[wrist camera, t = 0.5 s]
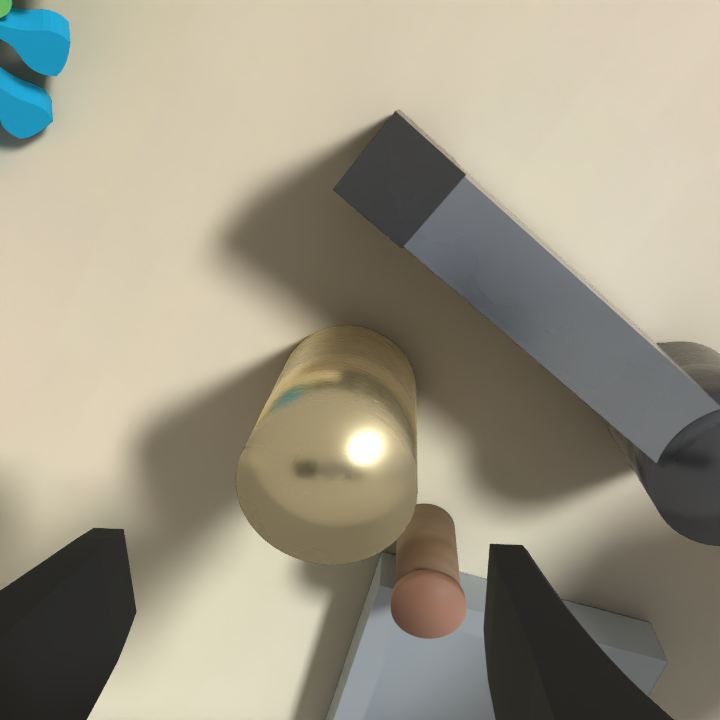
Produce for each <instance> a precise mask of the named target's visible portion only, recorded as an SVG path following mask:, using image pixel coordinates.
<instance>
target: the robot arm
mask: <svg viewBox="0 0 720 720" xmlns="http://www.w3.org/2000/svg"><path fill="white" fill-rule="evenodd" d="M135 615H136V606H135V600H134V593H133V587H132V580H131V574H130V568H129V561H128V555H127V548H126V542H125V535H124V529H105V528H93V529H92V530H90V531H88V532H87V533H85V534H83V535H82V536H80V537H79V538H77V539H76V540H74V541H73V542H71V543H70V544H68V545H67V546H65V547H64V548H62V549H61V550H59V551H58V552H56V553H55V554H54V555H52V556H51V557H49V558H48V559H46V560H45V561H43V562H42V563H41V564H39V565H38V566H36V567H35V568H33V569H32V570H30V571H29V572H27V573H26V574H24V575H23V576H21V577H20V578H18V579H17V580H15V581H14V582H12V583H11V584H10V585H8V586H7V587H5V588H4V589H2V590H0V720H87V718H88V716H89V714H90V712H91V711H92V709H93V707H94V705H95V703H96V701H97V700H98V698H99V696H100V694H101V692H102V690H103V688H104V686H105V684H106V683H107V681H108V679H109V677H110V675H111V673H112V671H113V669H114V667H115V665H116V663H117V661H118V659H119V657H120V654H121V652H122V649H123V647H124V644H125V642H126V639H127V637H128V634H129V631H130V628H131V626H132V623H133V620H134V617H135ZM483 631H484V643H485V655H486V666H487V677H488V684H489V689H490V694H491V699H492V704H493V709H494V714H495V719H496V720H674V719H672V718H671V717H670V716H669V715H668V714H667V713H666V712H664V711H663V710H662V709H661V708H660V707H659V706H658V705H656V704H655V703H654V702H653V701H652V700H651V699H650V698H649V697H648V696H647V695H646V694H645V693H644V692H643V691H642V690H641V689H639V688H638V687H637V686H636V685H635V684H634V683H633V682H632V681H631V680H630V679H629V678H628V677H627V676H626V675H625V674H624V673H623V672H622V671H621V669H620V668H619V667H618V666H617V665H616V664H615V663H614V662H613V661H612V660H611V659H610V658H609V656H608V655H607V654H606V653H605V652H604V651H603V650H602V649H601V648H600V646H599V645H598V644H597V643H596V642H595V641H594V640H593V638H592V637H591V636H590V635H589V634H588V632H587V631H586V630H585V629H584V628H583V626H582V625H581V624H580V623H579V621H578V620H577V619H576V618H575V616H574V615H573V614H572V613H571V611H570V610H569V609H568V608H567V606H566V605H565V604H564V602H563V601H562V600H561V598H560V597H559V596H558V594H557V593H556V592H555V590H554V589H553V588H552V586H551V585H550V583H549V582H548V581H547V579H546V578H545V576H544V575H543V573H542V572H541V570H540V569H539V568H538V566H537V565H536V563H535V562H534V560H533V558H532V557H531V555H530V554H529V552H528V551H527V550H526V549H525V548H524V546H523V545H505V544H490V549H489V562H488V575H487V588H486V601H485V614H484V627H483Z"/></svg>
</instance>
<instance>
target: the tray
mask: <svg viewBox="0 0 720 720" xmlns="http://www.w3.org/2000/svg"><path fill="white" fill-rule="evenodd" d="M395 567H396V555H393V554H389V553H385V552H382V553H381V556H380V559H379V562H378V565H377V568H376V571H375V574H374V577H373V580H372V583H371V586H370V589H369V592H368V594H367V597H366V600H365V603H364V606H363V609H362V612H361V615H360V618H359V621H358V624H357V627H356V630H355V633H354V636H353V639H352V642H351V645H350V648H349V651H348V654H347V657H346V660H345V663H344V666H343V669H342V672H341V675H340V678H339V681H338V684H337V687H336V690H335V693H334V696H333V699H332V702H331V705H330V708H329V711H328V714H327V717H326V720H496V719H495V714H494V709H493V704H492V699H491V694H490V689H489V684H488V677H487V666H486V655H485V643H484V631H483V627H484V614H485V601H486V588H487V579H483V578H479V577H476V576H472V575H468V574H464V573H461V572H459V577H460V586H461V587H462V589H463V591H464V595H465V602H466V615H465V618H464V620H463V622H462V624H461V625H460V626H459V627H458V628H457V629H456V630H455V631H454V632H452V633H451V634H449V635H446V636H444V637H440V638H434V639H424V638H418V637H415V636H412V635H410V634H408V633H406V632H405V631H403V630H402V629H401V628H400V627H399V626H398V625H397V624H396V623H395V621H394V619H393V617H392V614H391V594H392V590H393V588H394V586H395ZM561 600H562V599H561ZM562 601H563V602H564V604H565V605H566V606H567V608H568V609H569V610H570V611H571V613H572V614H573V615H574V616H575V618H576V619H577V620H578V621H579V623H580V624H581V625H582V626H583V628H584V629H585V630H586V631H587V632H588V634H589V635H590V636H591V637H592V638H593V640H594V641H595V642H596V643H597V644H598V645H599V646H600V648H601V649H602V650H603V651H604V652H605V653H606V654H607V655H608V656H609V658H610V659H611V660H612V661H613V662H614V663H615V664H616V665H617V666H618V667H619V668H620V669H621V671H622V672H623V673H624V674H625V675H626V676H627V677H628V678H629V679H630V680H631V681H632V682H633V683H634V684H635V685H636V686H637V687H638V688H639V689H641V690H642V691H643V692H644V693H645V694H646V695H647V696H648V695H649V694H650V692H651V690H652V688H653V687H654V685H655V683H656V681H657V680H658V678H659V676H660V674H661V673H662V671H663V669H664V667H665V666H666V664H667V662H668V661H667V659H666V656H665V654H664V652H663V650H662V648H661V646H660V643H659V641H658V639H657V637H656V635H655V633H654V630H653V628H652V626H651V624H650V623H649V622H645V621H642V620H638V619H634V618H630V617H627V616H623V615H619V614H615V613H611V612H608V611H604V610H600V609H596V608H593V607H589V606H585V605H581V604H577V603H574V602H570V601H566V600H562Z"/></svg>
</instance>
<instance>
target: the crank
mask: <svg viewBox="0 0 720 720" xmlns="http://www.w3.org/2000/svg"><path fill="white" fill-rule="evenodd" d="M333 190H334V191H335V192H336V193H337V194H339V195H340V196H341V197H342V198H343V199H344V200H346V201H347V202H348V203H349V204H350V205H351V206H353V207H354V208H355V209H356V210H357V211H358V212H360V213H361V214H362V215H363V216H364V217H365V218H367V219H368V220H369V221H370V222H371V223H372V224H374V225H375V226H376V227H377V228H378V229H379V230H381V231H382V232H383V233H384V234H385V235H386V236H388V237H389V238H390V239H391V240H392V241H394V242H395V243H396V244H397V245H398V246H399V247H401V248H403V247H405V248H406V249H407V250H408V251H409V252H410V253H412V254H413V255H414V256H415V257H416V258H417V259H419V260H420V261H421V262H422V263H423V264H424V265H426V266H427V267H428V268H429V269H430V270H431V271H433V272H434V273H435V274H436V275H437V276H438V277H440V278H441V279H442V280H443V281H444V282H445V283H447V284H448V285H449V286H450V287H451V288H452V289H454V290H455V291H456V292H457V293H458V294H459V295H461V296H462V297H463V298H464V299H465V300H466V301H468V302H469V303H470V304H471V305H472V306H473V307H475V308H476V309H477V310H478V311H479V312H480V313H482V314H483V315H484V316H485V317H486V318H487V319H489V320H490V321H491V322H492V323H493V324H494V325H496V326H497V327H498V328H499V329H500V330H501V331H503V332H504V333H505V334H506V335H507V336H508V337H510V338H511V339H512V340H513V341H514V342H515V343H517V344H518V345H519V346H520V347H521V348H522V349H524V350H525V351H526V352H527V353H528V354H530V355H531V356H532V357H533V358H534V359H535V360H537V361H538V362H539V363H540V364H541V365H542V366H544V367H545V368H546V369H547V370H548V371H549V372H551V373H552V374H553V375H554V376H555V377H556V378H558V379H559V380H560V381H561V382H562V383H563V384H565V385H566V386H567V387H568V388H569V389H570V390H572V391H573V392H574V393H575V394H576V395H577V396H579V397H580V398H581V399H582V400H583V401H584V402H586V403H587V404H588V405H589V406H590V407H591V408H593V409H594V410H595V411H596V412H597V413H598V414H600V415H601V416H602V417H603V418H604V419H605V420H606V422H607V425H608V428H609V430H610V432H611V434H612V435H613V437H614V439H615V440H616V442H617V444H618V445H619V447H620V449H621V450H622V452H623V453H624V455H625V457H626V458H627V460H628V462H629V463H630V465H631V467H632V468H633V470H634V472H635V473H636V475H637V477H638V478H639V480H640V482H641V483H642V485H643V486H644V488H645V490H646V491H647V493H648V495H649V496H650V498H651V500H652V501H653V503H654V505H655V506H656V508H657V510H658V511H659V513H660V515H661V516H662V517H663V519H664V520H665V521H666V523H667V524H668V525H669V526H671V527H672V528H673V529H674V530H675V531H677V532H678V533H679V534H681V535H683V536H685V537H686V538H688V539H691V540H693V541H696V542H699V543H703V544H707V545H714V546H720V354H719V353H718V352H716V351H714V350H712V349H711V348H709V347H706V346H704V345H701V344H697V343H692V342H668V343H663V344H659V345H657V344H656V343H655V342H654V341H653V340H652V339H650V338H649V337H648V336H647V335H646V334H645V333H644V332H643V331H642V330H640V329H639V328H638V327H637V326H636V325H635V324H634V323H633V322H632V321H631V320H629V319H628V318H627V317H626V316H625V315H624V314H623V313H622V312H621V311H619V310H618V309H617V308H616V307H615V306H614V305H613V304H612V303H611V302H609V301H608V300H607V299H606V298H605V297H604V296H603V295H602V294H601V293H599V292H598V291H597V290H596V289H595V288H594V287H593V286H592V285H591V284H589V283H588V282H587V281H586V280H585V279H584V278H583V277H582V276H581V275H579V274H578V273H577V272H576V271H575V270H574V269H573V268H572V267H571V266H569V265H568V264H567V263H566V262H565V261H564V260H563V259H562V258H561V257H560V256H558V255H557V254H556V253H555V252H554V251H553V250H552V249H551V248H550V247H548V246H547V245H546V244H545V243H544V242H543V241H542V240H541V239H540V238H538V237H537V236H536V235H535V234H534V233H533V232H532V231H531V230H530V229H528V228H527V227H526V226H525V225H524V224H523V223H522V222H521V221H520V220H518V219H517V218H516V217H515V216H514V215H513V214H512V213H511V212H510V211H508V210H507V209H506V208H505V207H504V206H503V205H502V204H501V203H500V202H498V201H497V200H496V199H495V198H494V197H493V196H492V195H491V194H490V193H489V192H487V191H486V190H485V189H484V188H483V187H482V186H481V185H480V184H479V183H477V182H476V181H475V180H474V179H473V178H472V177H471V176H470V175H469V174H467V173H466V172H465V171H464V170H463V169H462V168H461V167H460V166H459V165H458V163H457V162H456V161H455V160H454V158H453V157H451V156H450V155H449V154H448V153H447V152H446V151H445V150H444V149H443V148H441V147H440V146H439V145H438V144H437V143H436V142H435V141H434V140H433V139H431V138H430V137H429V136H428V135H427V134H426V133H425V132H424V131H423V130H422V129H420V128H419V127H418V126H417V125H416V124H415V123H414V122H413V121H412V120H410V119H409V118H408V117H407V116H406V115H405V114H404V113H403V112H402V111H400V110H397V111H395V112H394V114H393V115H392V116H391V117H390V119H389V120H388V121H387V122H386V124H385V125H384V126H383V127H382V129H381V130H380V131H379V132H378V134H377V135H376V136H375V137H374V139H373V140H372V141H371V142H370V144H369V145H368V146H367V147H366V149H365V150H364V151H363V152H362V154H361V155H360V156H359V157H358V159H357V160H356V161H355V162H354V164H353V165H352V166H351V167H350V169H349V170H348V171H347V172H346V174H345V175H344V176H343V177H342V179H341V180H340V181H339V182H338V184H337V185H336V186H335V187H334V189H333Z"/></svg>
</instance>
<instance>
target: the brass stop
mask: <svg viewBox="0 0 720 720" xmlns="http://www.w3.org/2000/svg"><path fill="white" fill-rule="evenodd" d="M236 490H237V496H238V499H239V503H240V506H241V508H242V510H243V512H244V515H245V517H246V518H247V520H248V521H249V523H250V524H251V526H252V527H253V528H254V529H255V531H256V532H257V533H258V534H259V535H260V536H261V537H262V538H263V539H264V540H265V541H267V542H268V543H269V544H271V545H272V546H273V547H275V548H276V549H278V550H280V551H282V552H283V553H285V554H287V555H290V556H292V557H294V558H297V559H300V560H303V561H307V562H312V563H317V564H327V565H338V564H347V563H353V562H357V561H361V560H364V559H367V558H369V557H372V556H374V555H376V554H378V553H380V552H382V551H383V550H384V549H386V548H387V547H389V546H390V545H391V544H392V543H393V542H395V541H396V540H397V539H398V538H399V537H400V535H401V534H402V533H403V532H404V531H405V529H406V527H407V526H408V524H409V522H410V520H411V518H412V516H413V513H414V510H415V506H416V502H417V493H418V491H417V405H416V381H415V376H414V373H413V370H412V367H411V365H410V363H409V361H408V359H407V358H406V356H405V355H404V353H403V352H402V351H401V350H400V349H399V348H398V346H397V345H395V344H394V343H393V342H392V341H391V340H389V339H388V338H386V337H385V336H383V335H381V334H379V333H377V332H375V331H373V330H370V329H367V328H363V327H358V326H335V327H329V328H326V329H323V330H320V331H318V332H316V333H314V334H312V335H310V336H309V337H307V338H306V339H304V340H303V341H302V342H301V343H300V344H299V345H298V346H297V347H296V348H295V349H294V350H293V352H292V353H291V355H290V356H289V358H288V360H287V362H286V364H285V366H284V368H283V370H282V372H281V374H280V376H279V378H278V380H277V382H276V384H275V386H274V388H273V390H272V392H271V394H270V396H269V398H268V400H267V402H266V404H265V406H264V408H263V410H262V412H261V414H260V416H259V419H258V421H257V423H256V425H255V427H254V429H253V431H252V433H251V435H250V437H249V439H248V441H247V443H246V445H245V447H244V449H243V451H242V453H241V455H240V458H239V462H238V465H237V471H236Z"/></svg>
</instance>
